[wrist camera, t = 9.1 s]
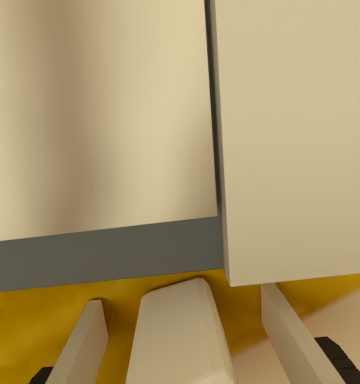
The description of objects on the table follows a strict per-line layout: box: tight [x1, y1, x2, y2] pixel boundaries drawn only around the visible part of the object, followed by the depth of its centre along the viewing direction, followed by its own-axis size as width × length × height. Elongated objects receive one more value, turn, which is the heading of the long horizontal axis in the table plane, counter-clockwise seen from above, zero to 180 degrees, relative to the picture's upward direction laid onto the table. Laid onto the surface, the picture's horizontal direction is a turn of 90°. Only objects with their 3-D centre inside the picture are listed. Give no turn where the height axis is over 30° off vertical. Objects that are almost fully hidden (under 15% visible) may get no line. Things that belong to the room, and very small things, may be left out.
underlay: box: [0, 0, 360, 292], centre depth 10 cm, size 22×16×3 cm
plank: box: [0, 0, 217, 241], centre depth 10 cm, size 12×9×2 cm
